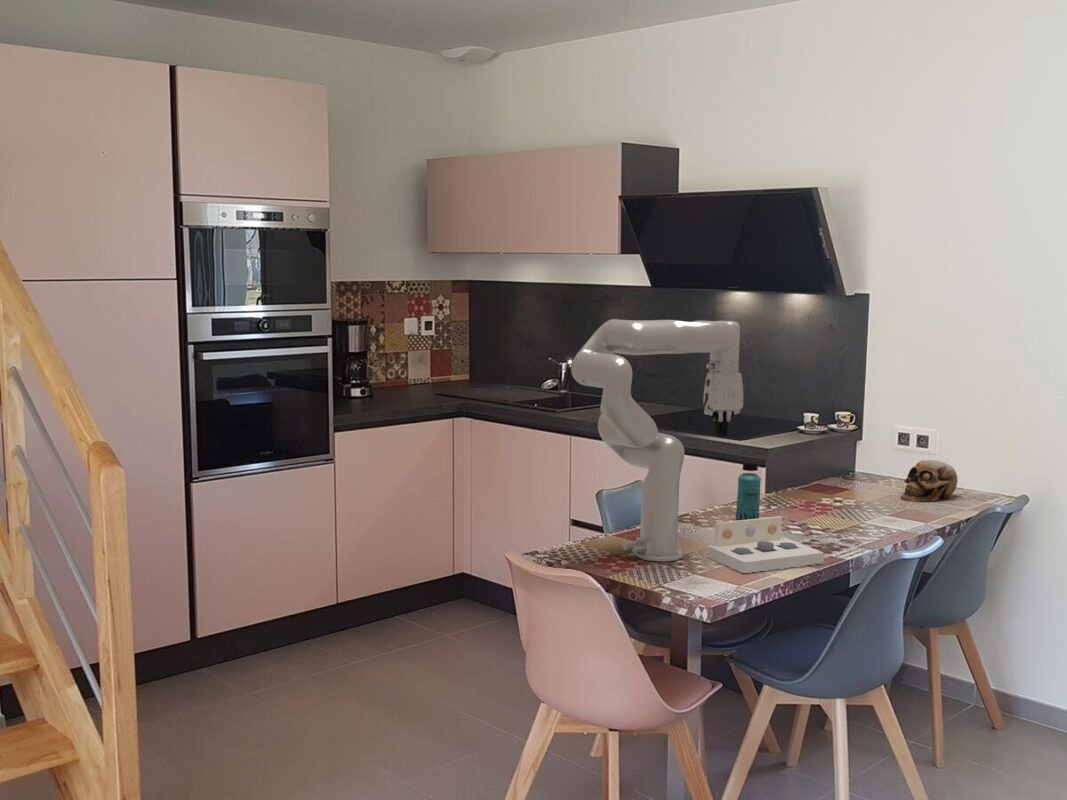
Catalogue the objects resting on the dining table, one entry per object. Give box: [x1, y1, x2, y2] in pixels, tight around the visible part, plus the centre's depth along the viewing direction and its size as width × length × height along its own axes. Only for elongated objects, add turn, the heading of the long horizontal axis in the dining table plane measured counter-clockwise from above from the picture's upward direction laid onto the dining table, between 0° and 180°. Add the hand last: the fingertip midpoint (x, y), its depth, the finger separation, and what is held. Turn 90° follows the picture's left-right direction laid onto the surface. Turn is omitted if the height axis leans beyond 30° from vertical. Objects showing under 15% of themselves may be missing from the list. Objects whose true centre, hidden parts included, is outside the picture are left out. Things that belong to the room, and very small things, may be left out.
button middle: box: [757, 541, 774, 552], centre depth 272 cm, size 4×4×3 cm
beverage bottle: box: [734, 461, 762, 521], centre depth 300 cm, size 6×7×20 cm
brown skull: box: [900, 459, 959, 503], centre depth 350 cm, size 16×17×13 cm
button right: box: [780, 542, 796, 550], centre depth 275 cm, size 4×4×3 cm
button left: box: [734, 548, 751, 555], centre depth 270 cm, size 4×4×3 cm
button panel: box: [706, 515, 825, 574], centre depth 272 cm, size 24×16×9 cm, turn 114°
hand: (721, 435), depth 287 cm, fingers closed
